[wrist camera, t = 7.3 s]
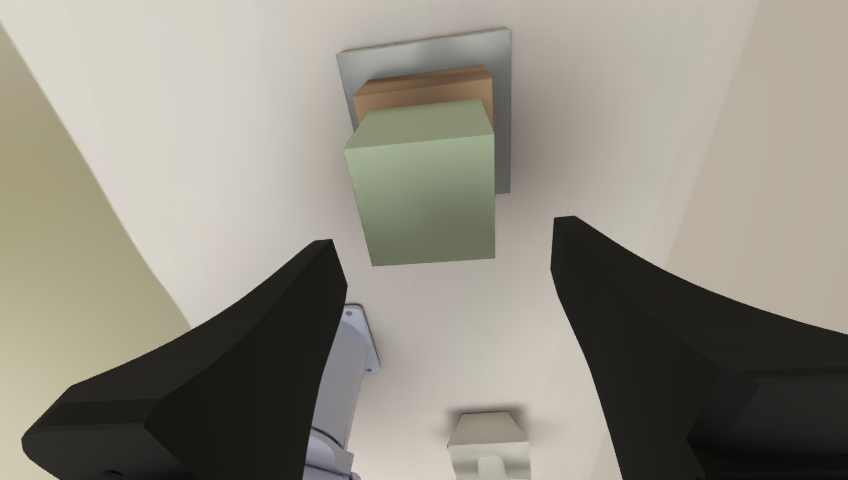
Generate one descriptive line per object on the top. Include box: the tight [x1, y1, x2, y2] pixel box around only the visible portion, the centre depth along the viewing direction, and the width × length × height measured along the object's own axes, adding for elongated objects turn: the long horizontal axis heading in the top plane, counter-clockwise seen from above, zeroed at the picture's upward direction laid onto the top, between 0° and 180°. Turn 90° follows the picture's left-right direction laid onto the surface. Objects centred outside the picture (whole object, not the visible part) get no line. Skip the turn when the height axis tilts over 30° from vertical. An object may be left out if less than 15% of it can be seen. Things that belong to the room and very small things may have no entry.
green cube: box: [343, 98, 495, 266], centre depth 14 cm, size 4×4×4 cm
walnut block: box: [353, 65, 493, 130], centre depth 17 cm, size 6×6×4 cm
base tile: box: [336, 27, 511, 194], centre depth 19 cm, size 8×8×2 cm
